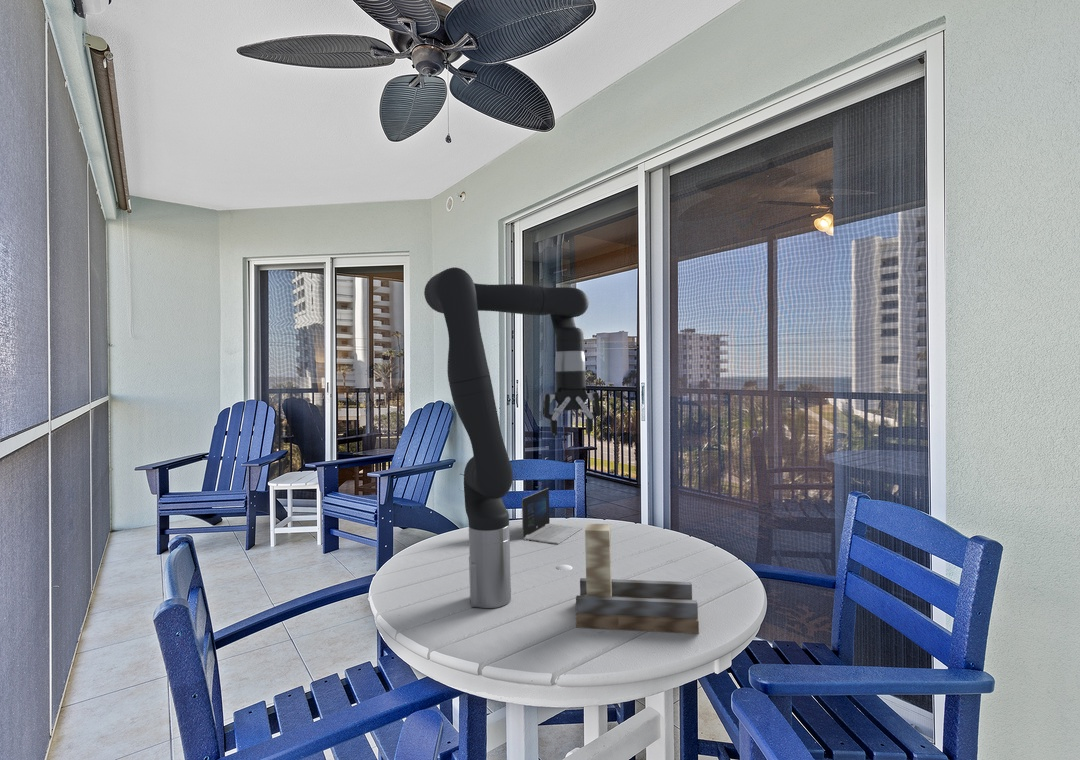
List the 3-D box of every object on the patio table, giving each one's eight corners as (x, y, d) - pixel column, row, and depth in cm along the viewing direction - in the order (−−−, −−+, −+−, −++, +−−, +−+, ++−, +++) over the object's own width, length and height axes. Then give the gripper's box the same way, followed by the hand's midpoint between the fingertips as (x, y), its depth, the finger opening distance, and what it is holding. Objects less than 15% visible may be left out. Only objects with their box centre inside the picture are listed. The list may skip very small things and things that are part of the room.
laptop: (558, 545, 163) (557, 502, 163) (522, 540, 169) (521, 498, 169) (582, 529, 179) (581, 490, 179) (548, 525, 185) (547, 487, 185)
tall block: (586, 606, 113) (585, 530, 113) (588, 596, 118) (586, 523, 118) (611, 607, 112) (609, 530, 112) (611, 597, 117) (610, 524, 117)
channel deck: (576, 627, 109) (575, 600, 109) (581, 600, 122) (580, 576, 122) (698, 633, 106) (698, 605, 105) (691, 605, 118) (690, 580, 118)
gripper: (545, 370, 130) (547, 437, 130) (602, 368, 133) (603, 434, 133) (539, 370, 137) (541, 434, 138) (593, 369, 140) (595, 431, 140)
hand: (571, 434), depth 135 cm, fingers open, 8 cm apart
